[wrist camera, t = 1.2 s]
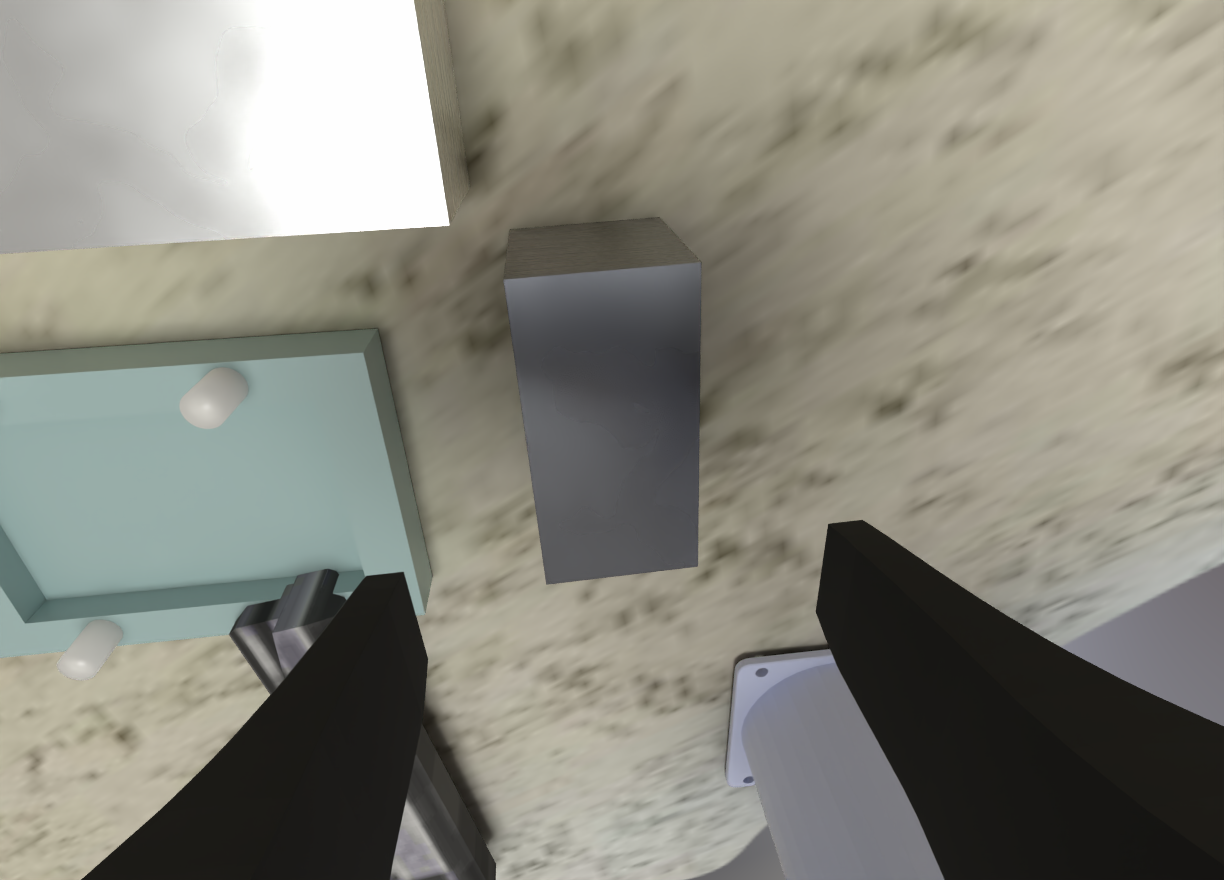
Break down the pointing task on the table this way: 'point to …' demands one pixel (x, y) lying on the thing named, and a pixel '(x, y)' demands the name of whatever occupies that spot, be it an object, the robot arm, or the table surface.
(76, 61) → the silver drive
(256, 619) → the handgun
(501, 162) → the table surface
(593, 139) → the table surface
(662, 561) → the dark grey rectangular block
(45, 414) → the tray
